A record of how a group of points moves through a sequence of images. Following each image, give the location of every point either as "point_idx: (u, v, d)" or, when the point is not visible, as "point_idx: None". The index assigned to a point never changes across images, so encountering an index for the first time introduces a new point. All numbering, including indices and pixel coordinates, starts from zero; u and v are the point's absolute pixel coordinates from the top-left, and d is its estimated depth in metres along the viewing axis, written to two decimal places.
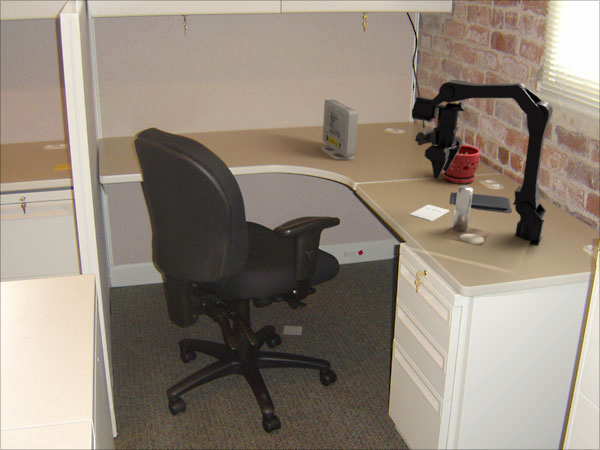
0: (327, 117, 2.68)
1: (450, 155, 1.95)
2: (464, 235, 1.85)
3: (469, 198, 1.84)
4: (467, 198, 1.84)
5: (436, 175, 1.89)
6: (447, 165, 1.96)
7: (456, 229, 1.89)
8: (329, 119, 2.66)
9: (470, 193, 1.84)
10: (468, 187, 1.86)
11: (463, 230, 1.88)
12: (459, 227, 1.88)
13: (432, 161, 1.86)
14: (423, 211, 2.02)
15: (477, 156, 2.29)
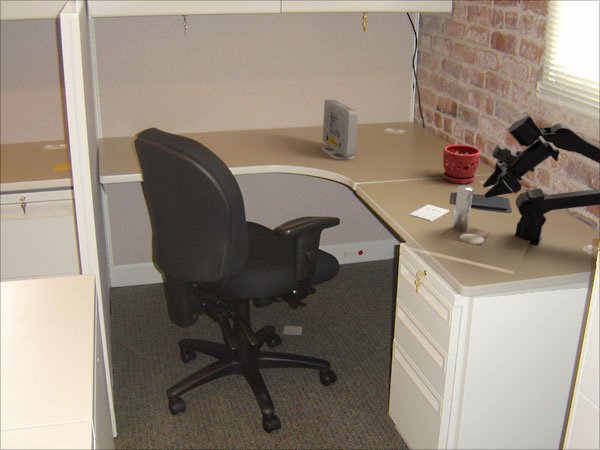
0: (327, 117, 2.68)
1: None
2: (464, 235, 1.85)
3: (469, 198, 1.84)
4: (467, 198, 1.84)
5: (488, 195, 1.79)
6: (490, 184, 1.88)
7: (456, 229, 1.89)
8: (329, 119, 2.66)
9: (470, 193, 1.84)
10: (468, 187, 1.86)
11: (463, 230, 1.88)
12: (459, 227, 1.88)
13: (499, 183, 1.76)
14: (423, 211, 2.02)
15: (477, 156, 2.29)
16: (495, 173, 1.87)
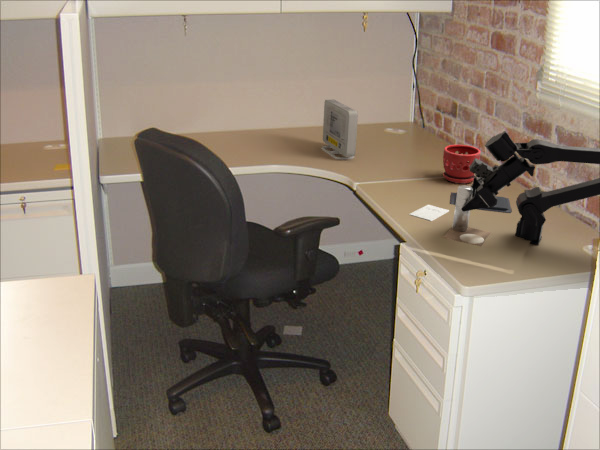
0: (327, 117, 2.68)
1: None
2: (464, 235, 1.85)
3: (469, 198, 1.84)
4: (467, 198, 1.84)
5: (465, 209, 1.82)
6: None
7: (456, 229, 1.89)
8: (329, 119, 2.66)
9: (470, 193, 1.84)
10: (468, 187, 1.86)
11: (463, 230, 1.88)
12: (459, 227, 1.88)
13: (475, 197, 1.79)
14: (423, 211, 2.02)
15: (477, 156, 2.29)
16: (473, 187, 1.90)
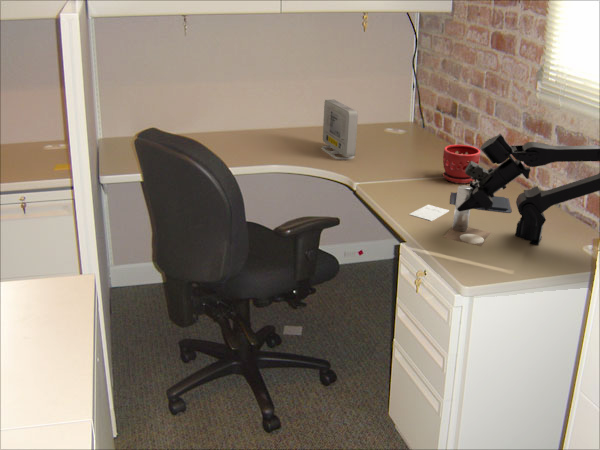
0: (327, 117, 2.68)
1: None
2: (464, 235, 1.85)
3: None
4: None
5: (461, 209, 1.85)
6: None
7: (456, 229, 1.89)
8: (329, 119, 2.66)
9: None
10: (468, 187, 1.86)
11: (463, 230, 1.88)
12: (459, 227, 1.88)
13: (471, 198, 1.82)
14: (423, 211, 2.02)
15: (477, 156, 2.29)
16: None
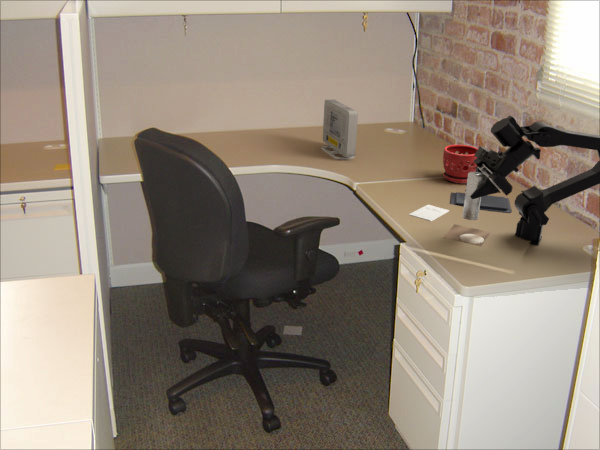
0: (327, 117, 2.68)
1: None
2: (464, 235, 1.85)
3: None
4: None
5: (475, 196, 1.78)
6: None
7: (468, 218, 1.81)
8: (329, 119, 2.66)
9: (482, 179, 1.77)
10: (478, 173, 1.79)
11: (475, 218, 1.81)
12: (472, 215, 1.81)
13: (486, 184, 1.75)
14: (423, 211, 2.02)
15: None
16: None
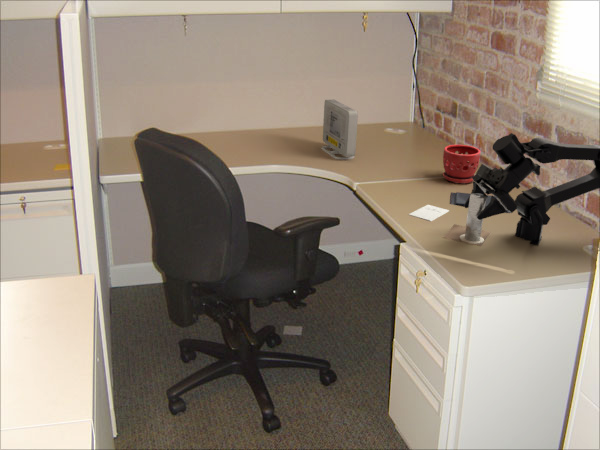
0: (327, 117, 2.68)
1: None
2: (464, 235, 1.85)
3: (484, 205, 1.78)
4: (482, 206, 1.78)
5: (481, 217, 1.76)
6: None
7: (471, 239, 1.81)
8: (329, 119, 2.66)
9: (485, 201, 1.78)
10: (480, 195, 1.79)
11: (478, 239, 1.82)
12: (475, 237, 1.81)
13: (493, 204, 1.73)
14: (423, 211, 2.02)
15: (477, 156, 2.29)
16: (475, 192, 1.83)
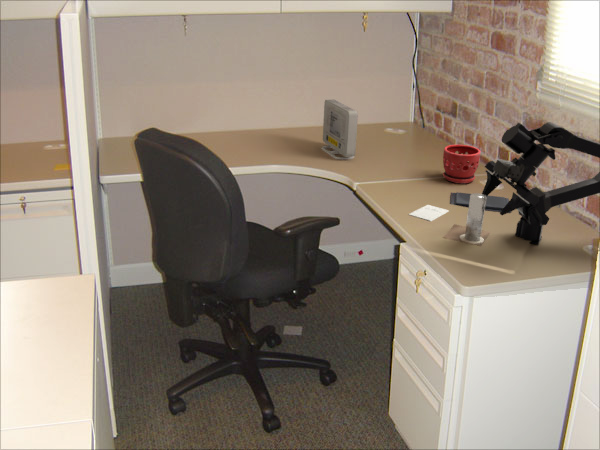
0: (327, 117, 2.68)
1: (494, 184, 1.85)
2: (464, 235, 1.85)
3: (484, 205, 1.78)
4: (482, 206, 1.78)
5: (504, 212, 1.78)
6: (487, 193, 1.85)
7: (471, 239, 1.81)
8: (329, 119, 2.66)
9: (485, 201, 1.78)
10: (480, 194, 1.79)
11: (478, 239, 1.82)
12: (475, 237, 1.81)
13: (516, 201, 1.75)
14: (423, 211, 2.02)
15: (477, 156, 2.29)
16: (490, 182, 1.84)
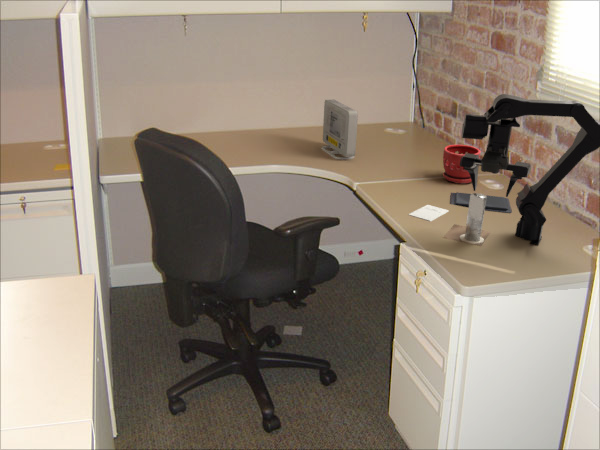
0: (327, 117, 2.68)
1: (476, 172, 1.85)
2: (464, 235, 1.85)
3: (484, 205, 1.78)
4: (482, 206, 1.78)
5: None
6: (476, 184, 1.86)
7: (471, 239, 1.81)
8: (329, 119, 2.66)
9: (485, 201, 1.78)
10: (480, 194, 1.79)
11: (478, 239, 1.82)
12: (475, 237, 1.81)
13: None
14: (422, 211, 2.02)
15: None
16: (475, 175, 1.83)
